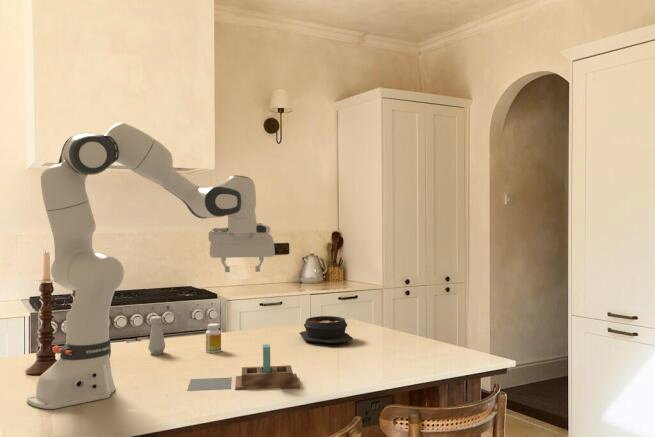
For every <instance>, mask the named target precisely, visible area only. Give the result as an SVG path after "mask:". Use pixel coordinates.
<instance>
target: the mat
mask: <svg viewBox="0 0 655 437" xmlns="http://www.w3.org/2000/svg"><path fill="white" fill-rule="evenodd" d="M232 379H233V377H231V376H230V377H211V378H209V377H208V378H191V379H190V380H189V383H188V387H187V390H186V391H187V392H198V391H216V390H217V391H219V390H231V389H232Z"/></svg>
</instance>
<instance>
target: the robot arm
mask: <svg viewBox="0 0 655 437" xmlns="http://www.w3.org/2000/svg"><path fill="white" fill-rule="evenodd" d="M173 160H174V159H173V155H172V153H171V151H170V150H169V149H168V148H167V147H166V146H165V145H163V144H162V143H161V142H160V141H158V140H157V139H155V138H154V137H152V136H151V135H149V134H147V133H146V132H144V131H142V130H140V129H139V128H137V127H134V126H133V125H130V124H128V123H125V122H124V123H123V122H119V123H115V124H114V125H112V126H111V127H109V129H108V130H107V131H106V133H105V134H97V133H90V132H81V133H77V134H74V135H72V136H69V138H67V140H65V142H64V144H63V146H62V149H61V153H60V157H59V159H58V164H54V165H51V166H49V167H47V168H46V169H45V170H43V172H42V173H41V175H40V186H41V196H42V201H43V204H44V208H45V211H46V214H47V218H48V222H49V225H50V229H51V232H52V237H53V245H54V246H53V247H54V260H53V262H52V264H51V268H50V274H51V277H52V279H53V281H54V282H55V283H56V284H57V285H59V286H61V287H62V288H65V289H67V290H70V291H74V292H75V293H74V299H73V302H72V306H71V308H70V310H68V311H67V313H66V314H65V332H66V334H65V337H66V340H65V343H64V345H63V346H61V345H60V346H59V345H56V344H55V345H54V346H53V347H52V352H53V353H54V354H59V355H60V356H59V358H58V359H57V360H56V361H55V362H54V363H53V364H52V365H51V366H49V367H48V368H47V369H46V371H44V372H43V373H42V374H41V375H40V376H39V377H38V380H37V385H36V390H35V391H36V392H35V393H33V394H30V395H28V396H27V400H26V401H27V402H26V403H28V404H29V405H31V406H33V407H35V408H40V409H46V410H54V409H59V408H65V407H70V406H74V405H78V404H79V405H80V404H84V403H89V402H93V401H99V400H100V401H101V400H104V399H109V398H110V397H111V394H113V393H114V392H115V391H116V386H115V382H114V377H113V374H112V369H111V368H112V367H111V354H112V353H111V352H112V350H111V348H112V346H111V339H110V337H109V334H110V328H109V326H110V321H109V320H110V308H111V304H112V301H113V297H114V294H115V291H116V290H117V289H118V288H119V287H120V286H121V284H122V283H123V280H124V277H125V276H124V275H125V270H124V267H123V264H122V263H121V261H120V260H118V259H117V258H116V257H113V256H111V255H110V254H106V253H103V252H95V251H94V249H93V236H94V233H95V231H96V227H97V225H96V221H95V218H94V215H93V214H94V213H93V211H92V206H91V204H90V200H89V197H88V193H87V191H86V190H87V189H86V180H87V177H88V175H89V176H93V175H97V174H100V173H103V172H104V171H106V170H107V169H108V168H109V167H110V166H112V165H113V164H114V163H115V162H116V163H118V164H121V165H123V166H124V167H126V168H127V169H129V170H130V171H132V172H133V173H135V174H137V175H139V176H141V177H142V178H144V179H147V180H148V181H150V182H153V183H155V184H157V185H159V186H161V187H162V188H163V189H165V190H167V192H169V193H171V194H172V195H174V196H175V197H176V198H178V199H179V200H181V201H182V203H183V204H185V206H186V207H187V209H188V210H189V213H191V214H192V215H193V216H194V217H196V218H198V219H202V220H203V219H204V220H205V219H210V218H222V217H226V216H227V227H219V228H218V227H213V229H211V230H209V232H208V241H209V242H210V245H209V256H210V257H211V258H212V259H218V258H219V259H220V262H221V263H222V265H223V267H224V273H230V272H231V269H230V268H231V267H230V265H227V263H226V261H227V258H229V259H230V258H258V261H259V263H258V265H255V266H254V267H255V272H261V266H262V264H263V262H264V258H269V257H270V258H272V257H274V255H275V254H276V251H275V250H276V249H275V243H274V242H275V241H274V238H273V235H272V234H270V233H271V226H269V225H266V224H263V223H259V222H257V215H256V206H257V194H256V186H255V182H254V181H253V179H252V178H250V177H248V176H245V175H237V174H236V175H230V176H229V177H228V178H227V179H225V180H224V181H222V182H220V183H218V184H215V185H212V186H202V185H201V186H200V185H196V184H195V183H193V182H192V181H190V180H189V179H188V178H186V177H185V176H183V175H182V174H180V173H179V172H178V171H177V170H176V169H175V167H174V166H173V164H174V163H173V162H174V161H173Z"/></svg>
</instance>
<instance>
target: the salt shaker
mask: <svg viewBox="0 0 655 437" xmlns="http://www.w3.org/2000/svg"><path fill="white" fill-rule="evenodd" d="M163 318H164V317H163V316H158V315H156V316H151V318H150V320H149V322H150V324H151V328H150V329H151V330H150V335H149V336H150V337H149V341H148V350H149V352H150V354H151V355H155V356H159V355H163V353H164V351H165V349H166V342H165V337H164V331H163V325H162V324H163V322H164V319H163Z"/></svg>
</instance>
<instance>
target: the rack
mask: <svg viewBox="0 0 655 437" xmlns="http://www.w3.org/2000/svg"><path fill="white" fill-rule="evenodd" d="M300 384H301V383H300V380H299V378H298V374H297V373H293V369H292V366H291V365H290V364H288V365H270V373H263V365H262V366H244V367H241V375H235V385H234V390H235V391H240V390H261V389H262V390H263V389H264V390H265V389H280V390H286V389H287V390H289V389H291V390H292V389H300V388H301V385H300Z"/></svg>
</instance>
